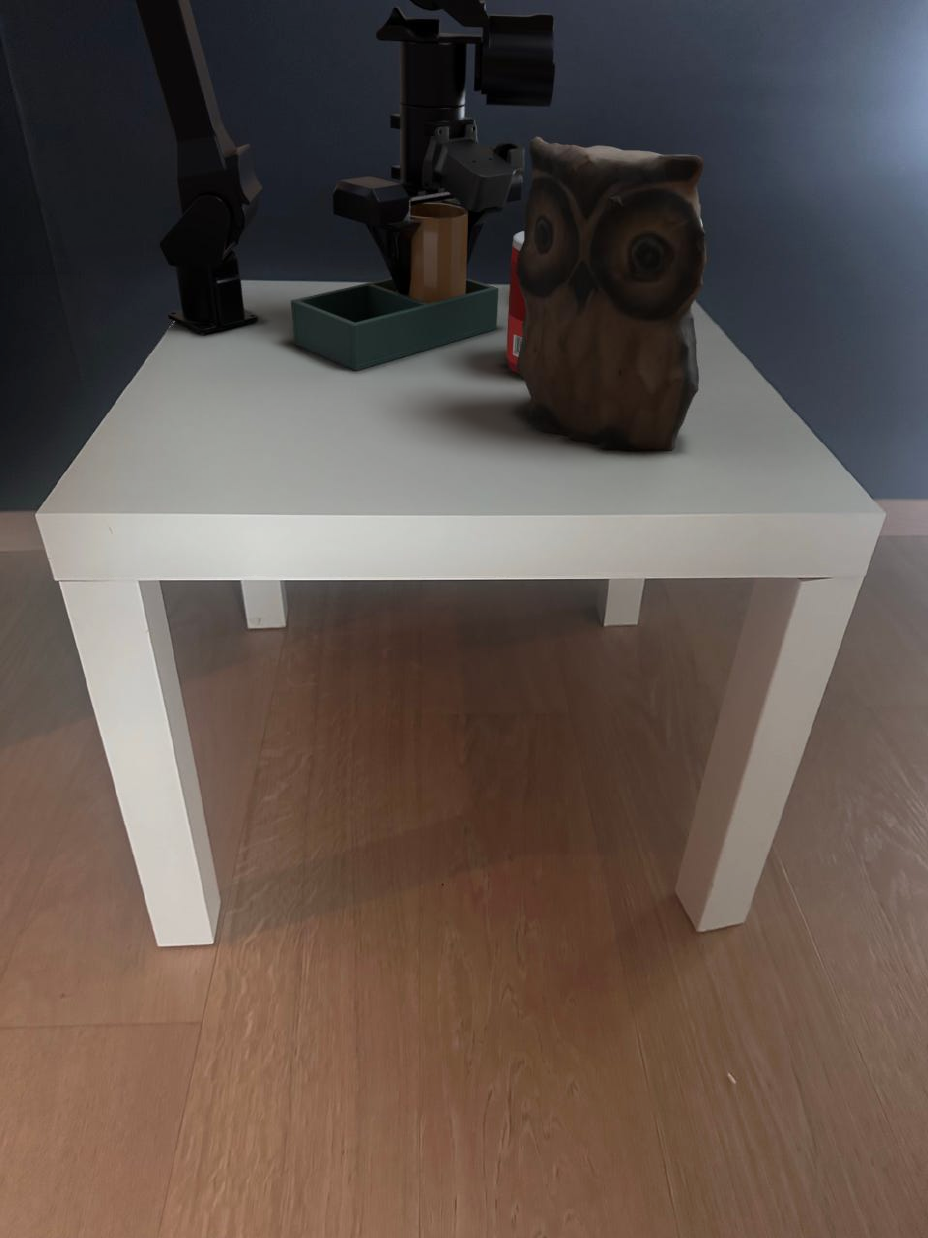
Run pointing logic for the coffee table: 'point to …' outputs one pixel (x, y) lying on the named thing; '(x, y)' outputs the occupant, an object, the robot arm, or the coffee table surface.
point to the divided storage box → (388, 322)
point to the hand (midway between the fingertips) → (430, 287)
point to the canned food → (515, 307)
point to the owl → (610, 293)
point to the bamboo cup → (438, 252)
